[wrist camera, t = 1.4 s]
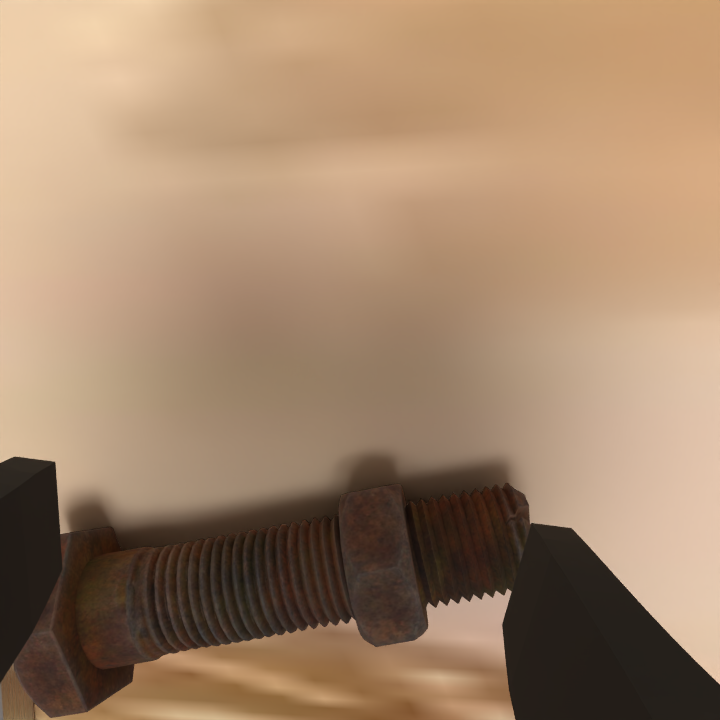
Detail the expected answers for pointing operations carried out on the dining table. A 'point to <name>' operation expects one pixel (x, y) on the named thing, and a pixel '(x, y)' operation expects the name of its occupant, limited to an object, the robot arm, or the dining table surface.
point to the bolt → (266, 586)
